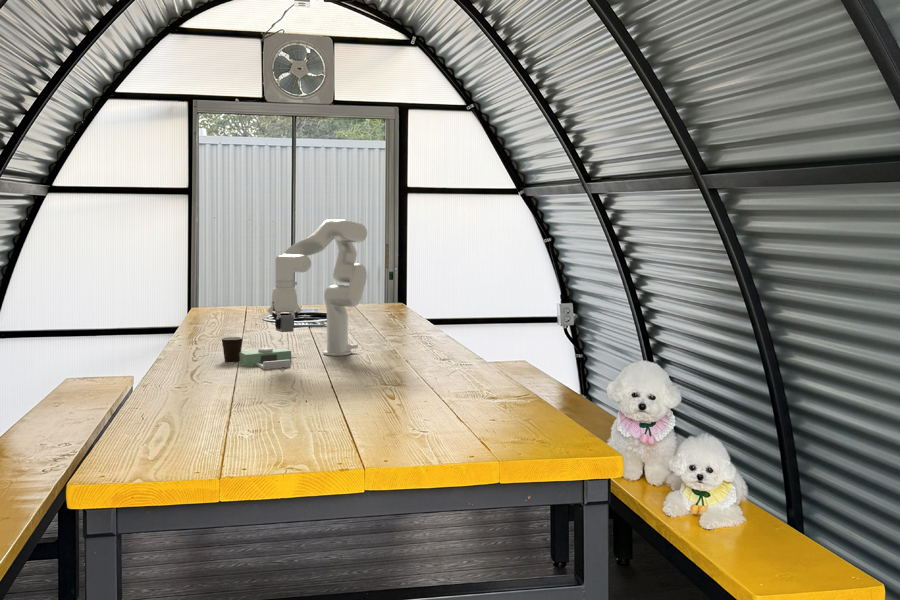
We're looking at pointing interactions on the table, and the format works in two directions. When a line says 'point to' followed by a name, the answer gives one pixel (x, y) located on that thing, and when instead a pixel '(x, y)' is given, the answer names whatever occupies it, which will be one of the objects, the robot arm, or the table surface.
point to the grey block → (286, 323)
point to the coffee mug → (232, 348)
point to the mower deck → (267, 358)
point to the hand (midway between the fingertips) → (284, 327)
